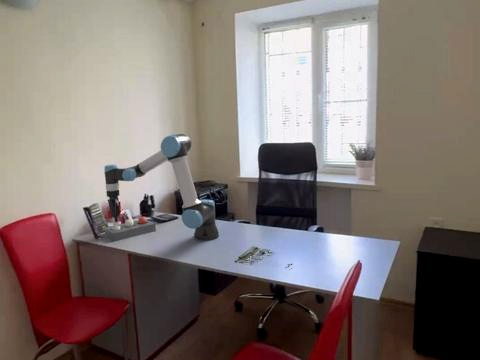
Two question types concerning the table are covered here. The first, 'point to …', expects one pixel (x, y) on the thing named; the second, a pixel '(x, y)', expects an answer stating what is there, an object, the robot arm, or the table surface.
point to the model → (252, 252)
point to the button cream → (129, 223)
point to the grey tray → (129, 230)
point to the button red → (142, 220)
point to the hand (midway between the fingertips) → (115, 226)
